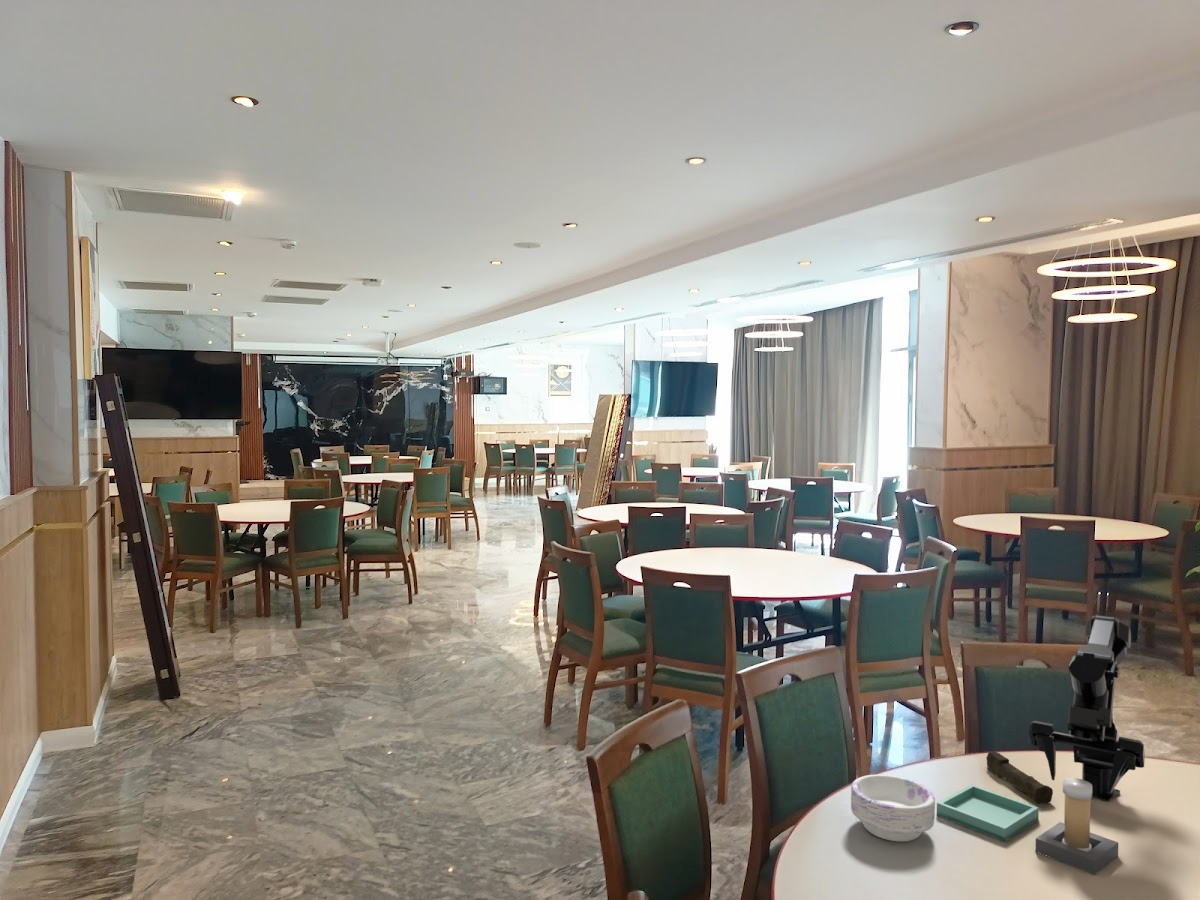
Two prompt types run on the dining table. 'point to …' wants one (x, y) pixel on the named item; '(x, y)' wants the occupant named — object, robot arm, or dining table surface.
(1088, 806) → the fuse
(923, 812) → the paper bowls
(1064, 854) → the frame
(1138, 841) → the dining table surface
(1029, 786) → the dark brown rod
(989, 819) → the parts tray
